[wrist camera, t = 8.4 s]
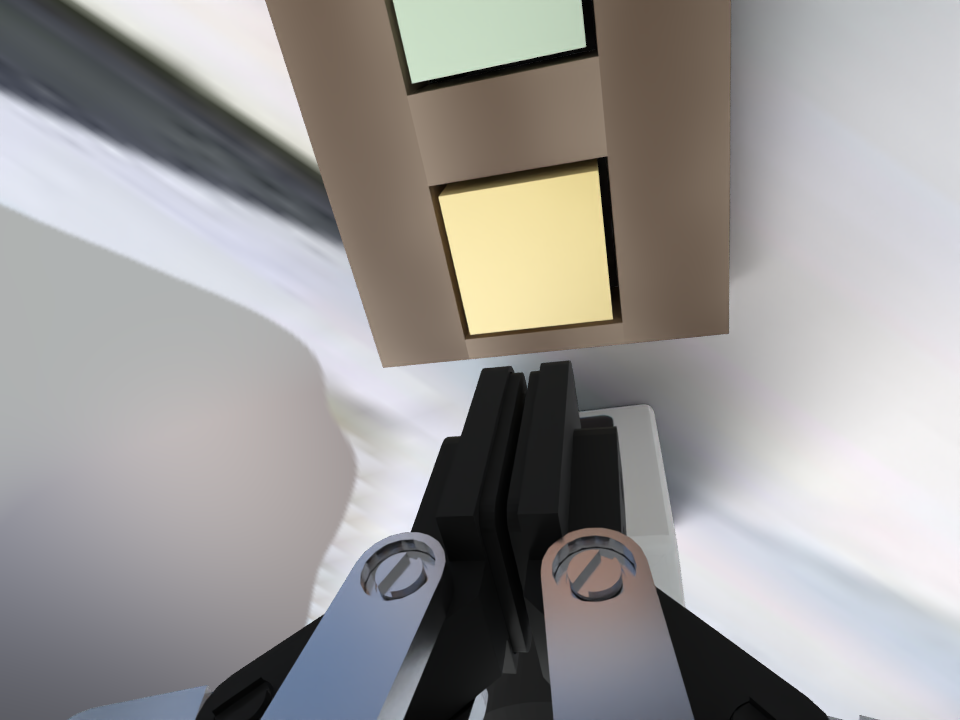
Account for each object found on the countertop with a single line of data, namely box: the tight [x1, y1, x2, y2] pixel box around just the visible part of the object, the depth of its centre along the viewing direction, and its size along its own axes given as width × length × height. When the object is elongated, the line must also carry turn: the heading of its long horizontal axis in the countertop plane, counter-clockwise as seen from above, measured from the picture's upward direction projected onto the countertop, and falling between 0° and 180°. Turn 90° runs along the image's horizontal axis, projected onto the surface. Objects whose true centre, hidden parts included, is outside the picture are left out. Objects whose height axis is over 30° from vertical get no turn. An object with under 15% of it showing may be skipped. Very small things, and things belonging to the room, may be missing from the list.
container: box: [483, 404, 685, 720], centre depth 22 cm, size 8×8×13 cm
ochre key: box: [439, 158, 613, 335], centre depth 20 cm, size 5×5×3 cm
